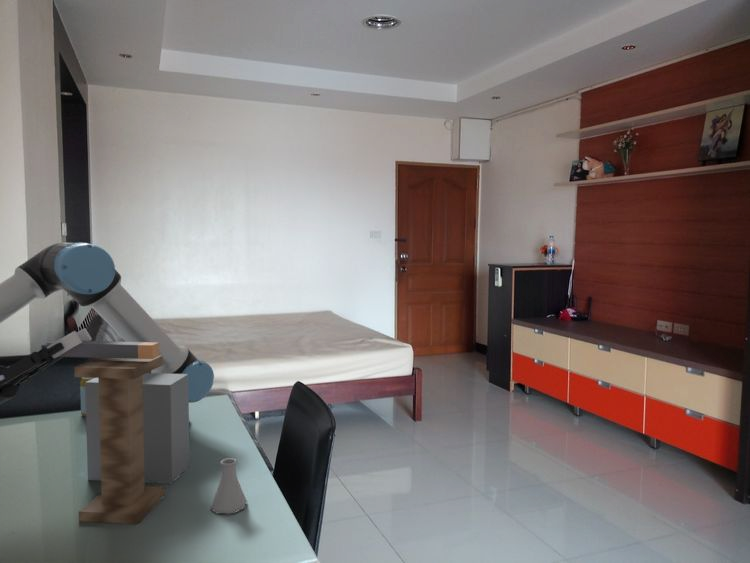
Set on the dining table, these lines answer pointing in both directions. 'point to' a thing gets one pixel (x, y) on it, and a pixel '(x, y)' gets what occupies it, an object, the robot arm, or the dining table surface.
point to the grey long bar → (112, 349)
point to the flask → (228, 490)
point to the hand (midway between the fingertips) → (82, 335)
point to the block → (149, 427)
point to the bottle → (83, 395)
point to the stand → (120, 441)
